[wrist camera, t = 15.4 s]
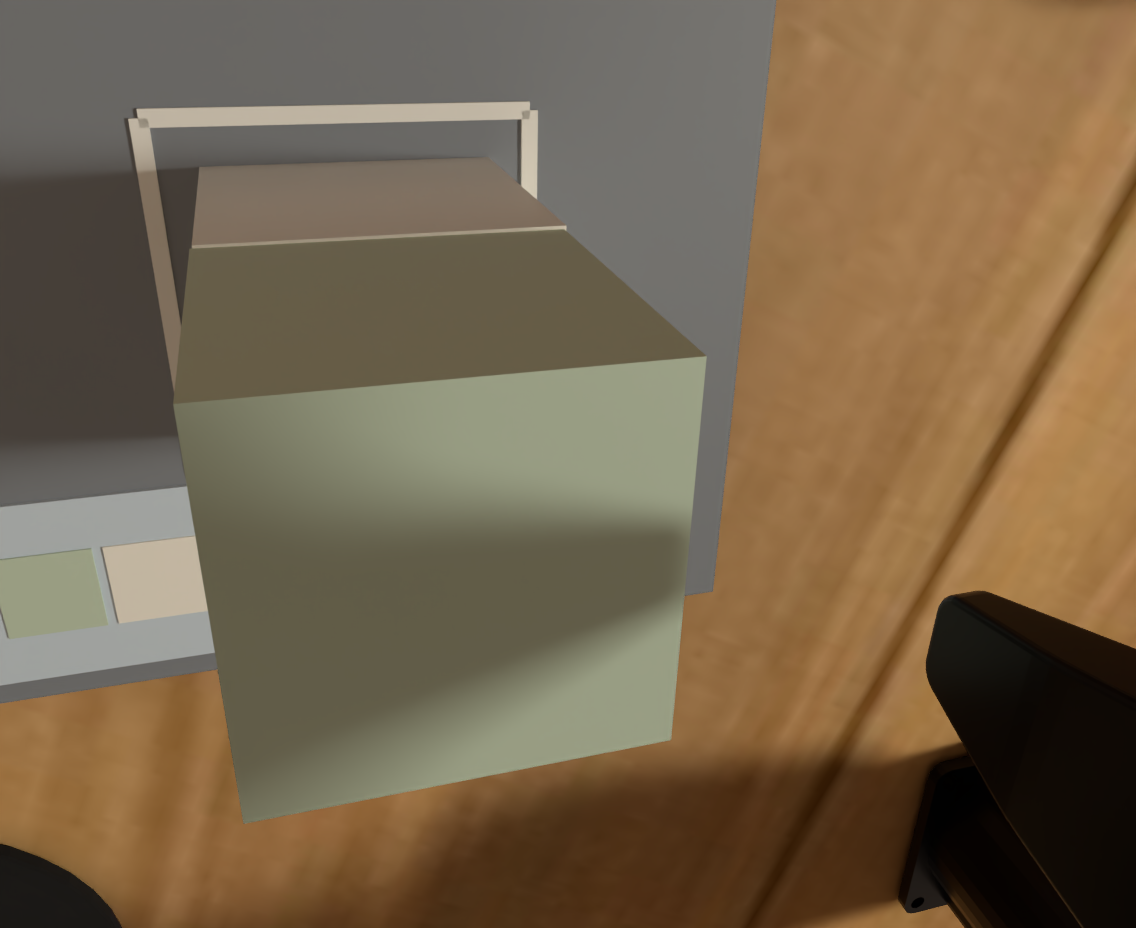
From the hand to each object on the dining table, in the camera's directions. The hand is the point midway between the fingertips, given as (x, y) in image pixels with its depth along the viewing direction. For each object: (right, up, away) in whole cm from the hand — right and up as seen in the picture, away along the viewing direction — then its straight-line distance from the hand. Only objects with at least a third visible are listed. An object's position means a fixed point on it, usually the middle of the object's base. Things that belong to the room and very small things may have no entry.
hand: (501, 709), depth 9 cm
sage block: (-2, +3, +6) cm, 7 cm away
